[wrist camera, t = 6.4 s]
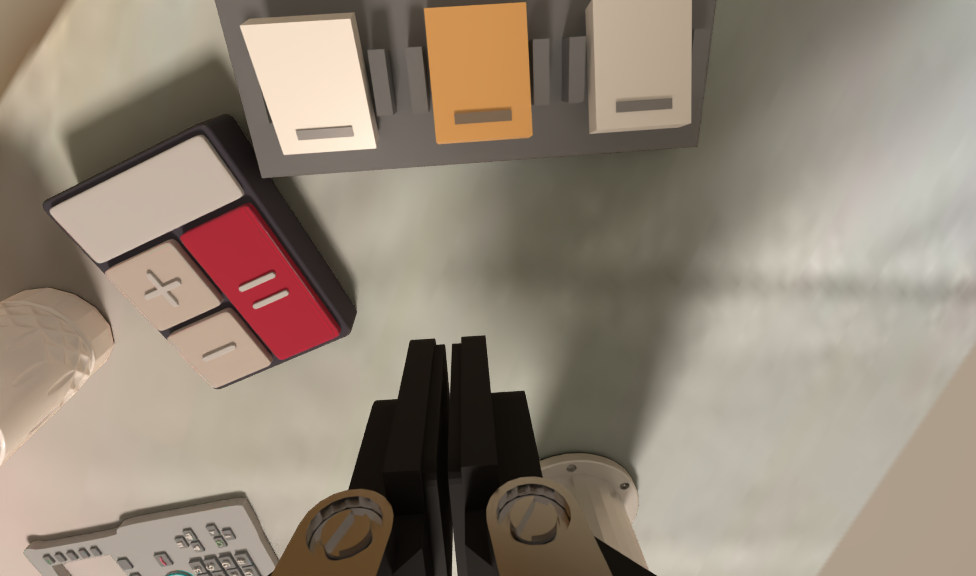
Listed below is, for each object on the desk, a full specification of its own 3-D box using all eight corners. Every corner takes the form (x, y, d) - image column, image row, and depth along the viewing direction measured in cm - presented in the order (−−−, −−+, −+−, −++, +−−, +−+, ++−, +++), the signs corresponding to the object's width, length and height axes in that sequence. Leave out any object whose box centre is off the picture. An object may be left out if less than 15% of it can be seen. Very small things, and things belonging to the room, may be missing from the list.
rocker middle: (522, 12, 24) (526, 1, 22) (529, 138, 25) (532, 134, 23) (426, 18, 23) (423, 7, 22) (437, 144, 25) (436, 141, 23)
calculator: (210, 399, 32) (25, 208, 25) (234, 361, 36) (79, 186, 29) (351, 340, 31) (197, 122, 24) (361, 307, 35) (230, 110, 28)
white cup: (127, 298, 32) (2, 389, 23) (120, 387, 35) (6, 498, 26) (-5, 263, 31) (-195, 346, 22) (-1, 359, 34) (-167, 468, 25)
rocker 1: (354, 12, 22) (349, 19, 21) (379, 137, 26) (376, 149, 25) (249, 18, 22) (238, 25, 21) (290, 143, 26) (283, 155, 24)
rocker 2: (678, 4, 24) (692, -9, 22) (678, 127, 25) (692, 122, 24) (585, 10, 24) (593, -3, 22) (589, 133, 25) (597, 129, 23)
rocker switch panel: (693, -29, 26) (740, -47, 22) (675, 139, 30) (712, 151, 26) (237, -2, 25) (193, -15, 21) (279, 167, 29) (249, 185, 25)
